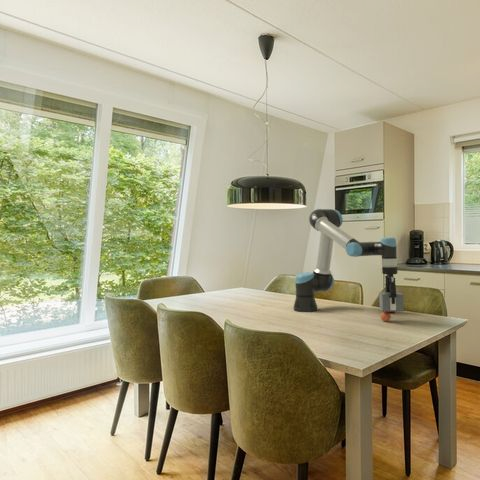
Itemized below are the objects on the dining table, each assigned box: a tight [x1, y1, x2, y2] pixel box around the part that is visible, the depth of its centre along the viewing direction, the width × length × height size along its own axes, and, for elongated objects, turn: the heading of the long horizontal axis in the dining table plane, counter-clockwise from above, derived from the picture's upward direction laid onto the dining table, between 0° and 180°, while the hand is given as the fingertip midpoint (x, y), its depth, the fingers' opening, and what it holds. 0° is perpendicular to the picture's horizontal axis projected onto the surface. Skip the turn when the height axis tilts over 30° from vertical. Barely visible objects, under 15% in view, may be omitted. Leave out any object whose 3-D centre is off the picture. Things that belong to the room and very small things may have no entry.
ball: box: [380, 311, 391, 322], centre depth 200 cm, size 5×5×5 cm
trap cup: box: [378, 291, 405, 313], centre depth 199 cm, size 10×10×9 cm
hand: (391, 308), depth 199 cm, fingers closed on trap cup, 10 cm apart
